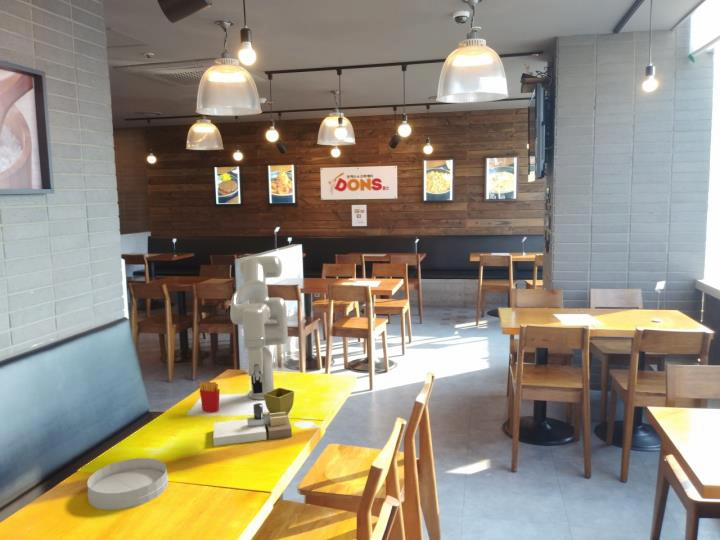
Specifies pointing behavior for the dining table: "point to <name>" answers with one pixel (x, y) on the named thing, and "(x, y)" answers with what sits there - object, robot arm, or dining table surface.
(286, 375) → the dining table surface
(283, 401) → the flower pot
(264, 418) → the bolt
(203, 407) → the french fries
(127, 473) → the dish
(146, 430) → the dining table surface
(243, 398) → the dining table surface
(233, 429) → the slide latch panel
